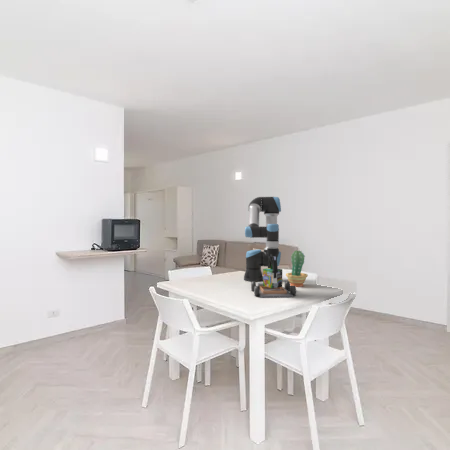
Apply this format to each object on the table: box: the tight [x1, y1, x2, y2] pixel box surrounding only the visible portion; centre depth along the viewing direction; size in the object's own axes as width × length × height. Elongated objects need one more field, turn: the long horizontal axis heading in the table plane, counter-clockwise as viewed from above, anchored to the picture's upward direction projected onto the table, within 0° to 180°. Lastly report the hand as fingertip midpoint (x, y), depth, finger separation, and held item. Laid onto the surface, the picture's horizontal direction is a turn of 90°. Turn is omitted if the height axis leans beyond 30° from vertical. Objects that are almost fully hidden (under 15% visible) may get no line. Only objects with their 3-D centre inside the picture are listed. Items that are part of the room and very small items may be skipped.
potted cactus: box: [285, 249, 309, 288], centre depth 229 cm, size 15×15×25 cm
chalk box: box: [262, 264, 283, 289], centre depth 205 cm, size 9×9×15 cm
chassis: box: [250, 280, 297, 299], centre depth 206 cm, size 24×25×6 cm
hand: (272, 281), depth 205 cm, fingers closed on chalk box, 12 cm apart
